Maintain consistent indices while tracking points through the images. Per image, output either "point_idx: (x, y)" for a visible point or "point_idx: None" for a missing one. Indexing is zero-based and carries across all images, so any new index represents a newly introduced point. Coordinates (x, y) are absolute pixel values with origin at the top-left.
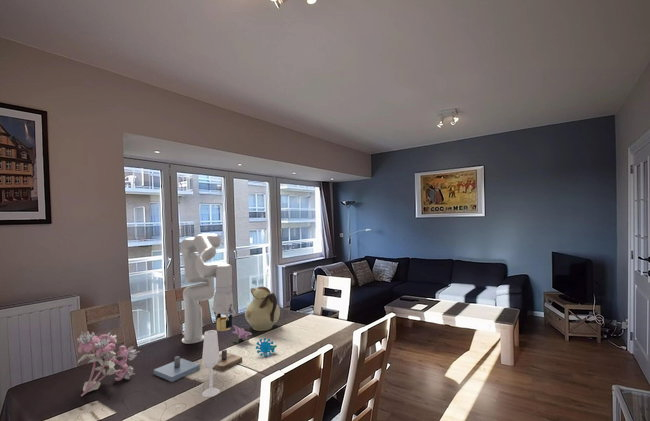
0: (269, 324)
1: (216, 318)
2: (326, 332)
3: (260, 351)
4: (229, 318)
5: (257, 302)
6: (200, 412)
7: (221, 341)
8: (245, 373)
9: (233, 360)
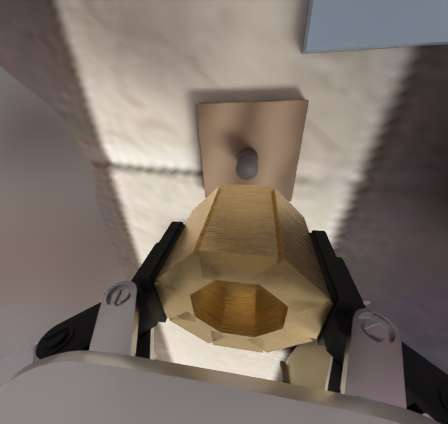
0: (293, 352)
1: (336, 292)
2: (179, 343)
3: None
4: (104, 306)
5: None
6: None
7: (392, 265)
8: (126, 136)
9: (208, 166)
